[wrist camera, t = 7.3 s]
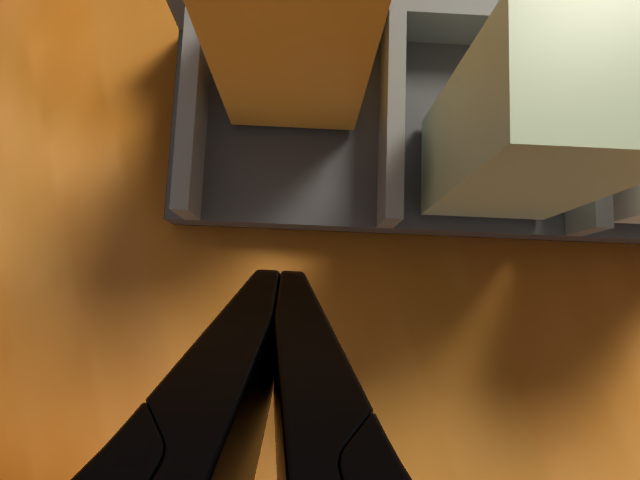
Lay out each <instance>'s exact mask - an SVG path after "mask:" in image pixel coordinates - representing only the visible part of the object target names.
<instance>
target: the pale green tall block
mask: <svg viewBox="0 0 640 480" xmlns="http://www.w3.org/2000/svg"><path fill="white" fill-rule="evenodd" d="M637 185H640V0H499V2H498V3H497V5H496V6H495V8H494V9H493V11H492V12H491V14H490V16H489V17H488V19H487V20H486V22H485V23H484V25H483V27H482V28H481V30H480V31H479V33H478V34H477V36H476V38H475V39H474V41H473V42H472V44H471V45H470V47H469V49H468V50H467V52H466V53H465V55H464V56H463V58H462V60H461V61H460V63H459V64H458V66H457V67H456V69H455V70H454V72H453V74H452V75H451V77H450V78H449V80H448V81H447V83H446V85H445V86H444V88H443V89H442V91H441V92H440V94H439V96H438V97H437V99H436V100H435V102H434V103H433V105H432V107H431V108H430V110H429V111H428V113H427V114H426V116H425V118H424V119H423V121H422V151H421V215H442V216H465V217H488V218H511V219H534V220H545V219H547V218H550V217H553V216H556V215H558V214H561V213H564V212H567V211H569V210H572V209H575V208H577V207H580V206H583V205H586V204H588V203H591V202H594V201H597V200H599V199H602V198H605V197H607V196H610V195H613V194H616V193H618V192H621V191H624V190H627V189H629V188H632V187H635V186H637Z"/></svg>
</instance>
